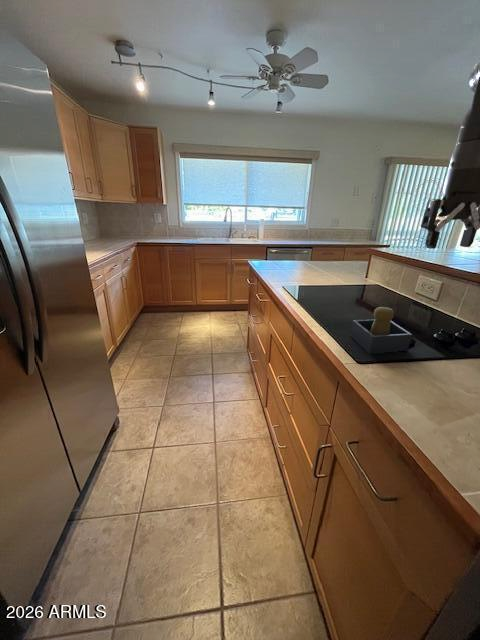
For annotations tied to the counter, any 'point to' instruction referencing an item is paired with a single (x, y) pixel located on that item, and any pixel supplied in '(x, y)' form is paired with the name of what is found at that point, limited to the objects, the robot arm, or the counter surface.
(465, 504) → the counter surface
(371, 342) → the bin
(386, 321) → the cork
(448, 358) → the counter surface
